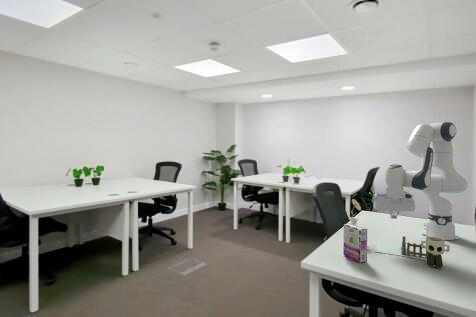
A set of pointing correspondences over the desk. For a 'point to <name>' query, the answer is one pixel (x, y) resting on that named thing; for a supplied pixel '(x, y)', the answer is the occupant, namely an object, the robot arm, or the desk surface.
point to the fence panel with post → (413, 249)
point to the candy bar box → (355, 243)
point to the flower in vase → (358, 207)
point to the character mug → (435, 251)
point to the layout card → (397, 251)
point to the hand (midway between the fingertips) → (393, 218)
